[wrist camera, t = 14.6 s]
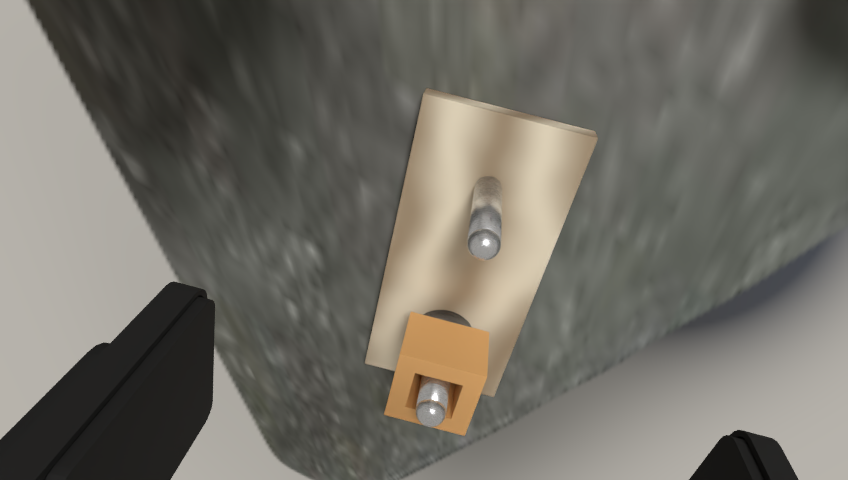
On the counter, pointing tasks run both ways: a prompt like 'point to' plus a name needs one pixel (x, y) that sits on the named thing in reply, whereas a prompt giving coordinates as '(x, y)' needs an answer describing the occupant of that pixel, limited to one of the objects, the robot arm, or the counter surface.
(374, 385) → the counter surface
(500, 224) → the stand rod
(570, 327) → the counter surface
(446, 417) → the collar
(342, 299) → the counter surface
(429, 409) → the metal peg
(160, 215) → the counter surface
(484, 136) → the board
